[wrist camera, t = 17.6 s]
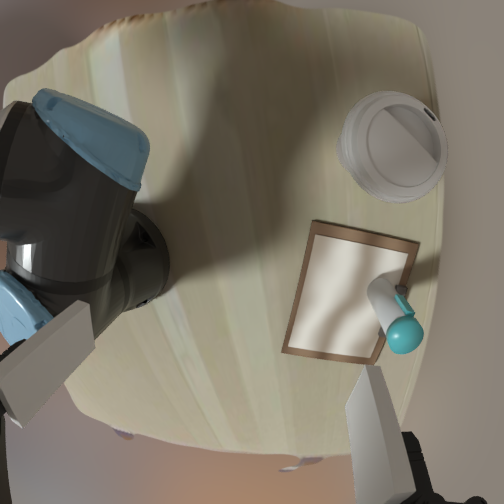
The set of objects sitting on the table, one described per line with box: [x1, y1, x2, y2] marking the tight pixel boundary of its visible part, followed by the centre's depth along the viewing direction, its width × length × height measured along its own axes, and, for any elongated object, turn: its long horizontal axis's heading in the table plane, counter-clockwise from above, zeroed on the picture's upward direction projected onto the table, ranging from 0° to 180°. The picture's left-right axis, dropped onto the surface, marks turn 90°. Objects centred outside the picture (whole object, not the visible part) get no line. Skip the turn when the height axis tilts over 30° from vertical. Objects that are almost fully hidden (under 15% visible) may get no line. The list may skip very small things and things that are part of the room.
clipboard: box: [281, 221, 418, 365], centre depth 38 cm, size 15×20×2 cm
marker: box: [367, 278, 424, 354], centre depth 31 cm, size 4×4×13 cm
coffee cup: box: [336, 91, 448, 203], centre depth 26 cm, size 10×10×15 cm
